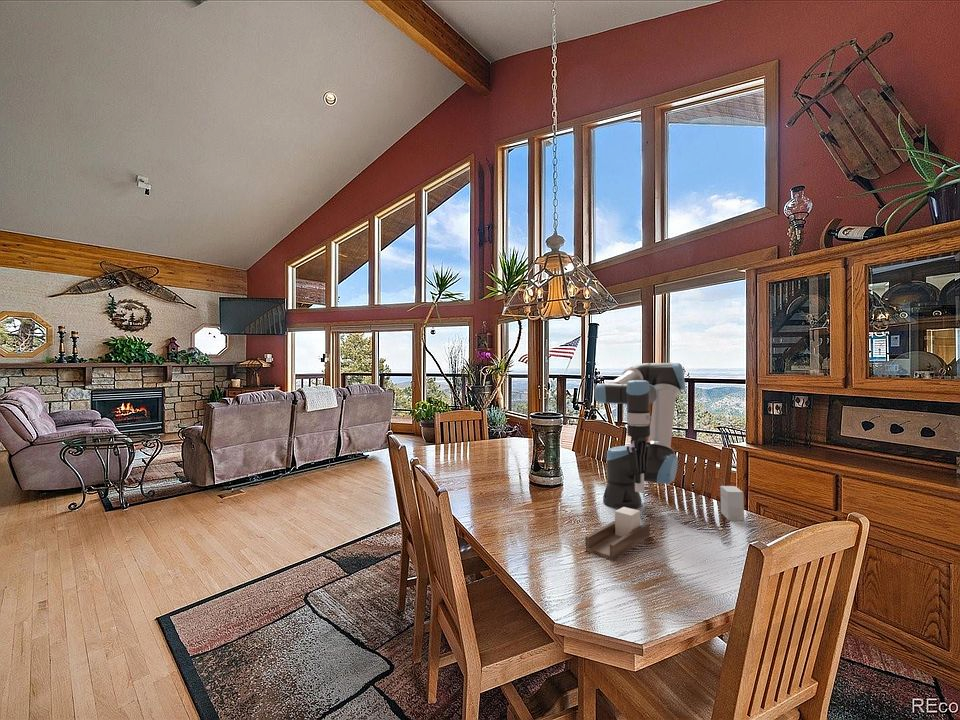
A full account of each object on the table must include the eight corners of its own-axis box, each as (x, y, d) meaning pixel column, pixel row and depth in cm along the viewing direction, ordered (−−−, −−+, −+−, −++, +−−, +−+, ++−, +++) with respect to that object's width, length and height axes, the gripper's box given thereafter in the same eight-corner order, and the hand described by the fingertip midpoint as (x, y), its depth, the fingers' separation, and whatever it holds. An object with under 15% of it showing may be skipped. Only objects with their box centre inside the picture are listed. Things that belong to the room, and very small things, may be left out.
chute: (585, 550, 143) (585, 536, 143) (623, 528, 159) (623, 516, 159) (613, 560, 136) (613, 545, 136) (650, 536, 152) (649, 523, 152)
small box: (744, 521, 163) (744, 492, 163) (727, 520, 165) (727, 491, 164) (736, 513, 171) (736, 485, 171) (720, 512, 172) (720, 485, 172)
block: (615, 534, 152) (614, 511, 152) (624, 529, 156) (623, 506, 156) (631, 539, 147) (631, 515, 147) (640, 534, 151) (640, 510, 151)
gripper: (639, 427, 150) (640, 498, 150) (657, 423, 159) (658, 489, 159) (619, 425, 155) (620, 493, 155) (637, 421, 164) (638, 485, 164)
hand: (639, 491), depth 157 cm, fingers closed
